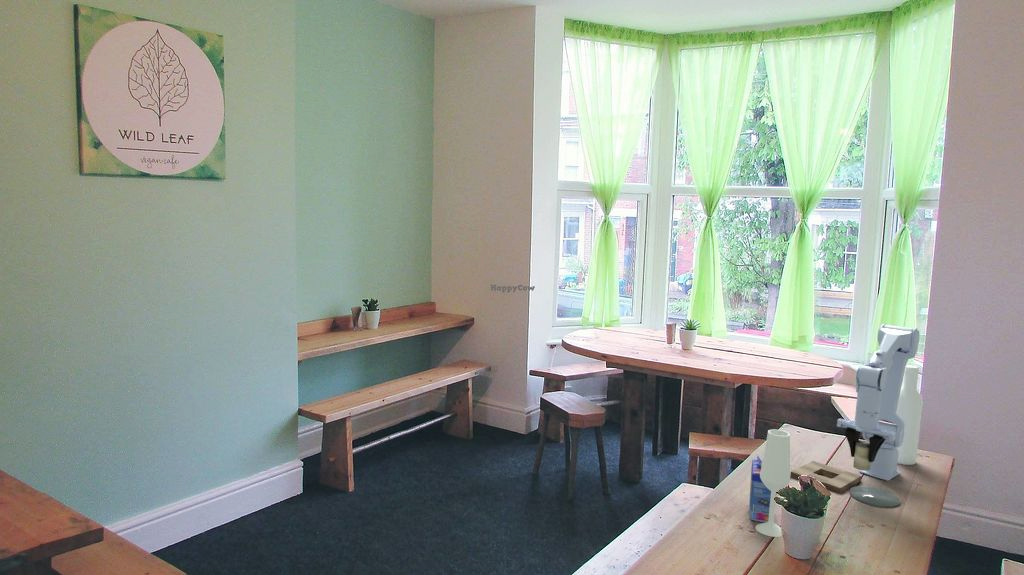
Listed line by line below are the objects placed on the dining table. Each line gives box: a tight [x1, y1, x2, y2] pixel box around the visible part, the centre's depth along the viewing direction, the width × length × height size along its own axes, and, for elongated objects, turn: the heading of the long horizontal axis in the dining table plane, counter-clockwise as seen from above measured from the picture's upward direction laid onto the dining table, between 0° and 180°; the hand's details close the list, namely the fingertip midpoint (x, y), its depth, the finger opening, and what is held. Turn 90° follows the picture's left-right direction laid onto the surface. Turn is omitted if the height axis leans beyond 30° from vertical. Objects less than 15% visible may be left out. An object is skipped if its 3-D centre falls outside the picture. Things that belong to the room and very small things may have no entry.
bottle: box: [890, 364, 924, 466], centre depth 209 cm, size 8×8×30 cm
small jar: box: [853, 439, 870, 471], centre depth 184 cm, size 4×4×7 cm
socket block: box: [790, 460, 863, 494], centre depth 194 cm, size 14×14×2 cm
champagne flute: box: [755, 429, 791, 538], centre depth 160 cm, size 7×7×24 cm
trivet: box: [849, 485, 901, 508], centre depth 182 cm, size 12×12×1 cm
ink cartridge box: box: [748, 455, 771, 523], centre depth 169 cm, size 10×6×14 cm, turn 161°
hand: (862, 458), depth 184 cm, fingers closed on small jar, 4 cm apart
